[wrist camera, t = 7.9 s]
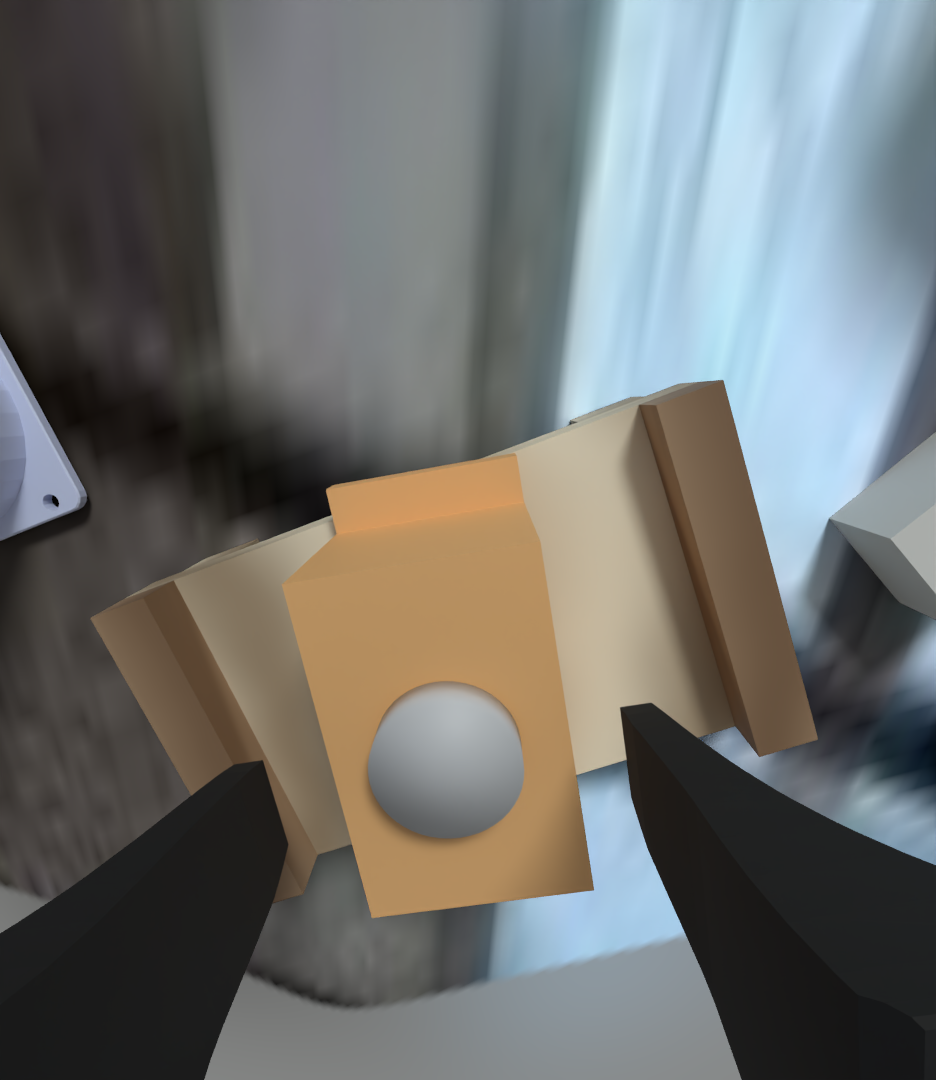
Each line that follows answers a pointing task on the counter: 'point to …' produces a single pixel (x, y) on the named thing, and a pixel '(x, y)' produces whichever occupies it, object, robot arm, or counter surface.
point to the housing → (442, 690)
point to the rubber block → (899, 528)
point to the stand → (575, 599)
